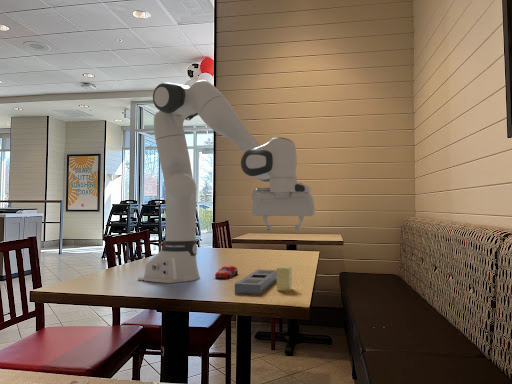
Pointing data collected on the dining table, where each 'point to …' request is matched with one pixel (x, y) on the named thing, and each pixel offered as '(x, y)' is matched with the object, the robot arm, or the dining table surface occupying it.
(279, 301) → the dining table surface
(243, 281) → the rail
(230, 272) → the race car
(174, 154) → the robot arm
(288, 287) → the pale yellow block
